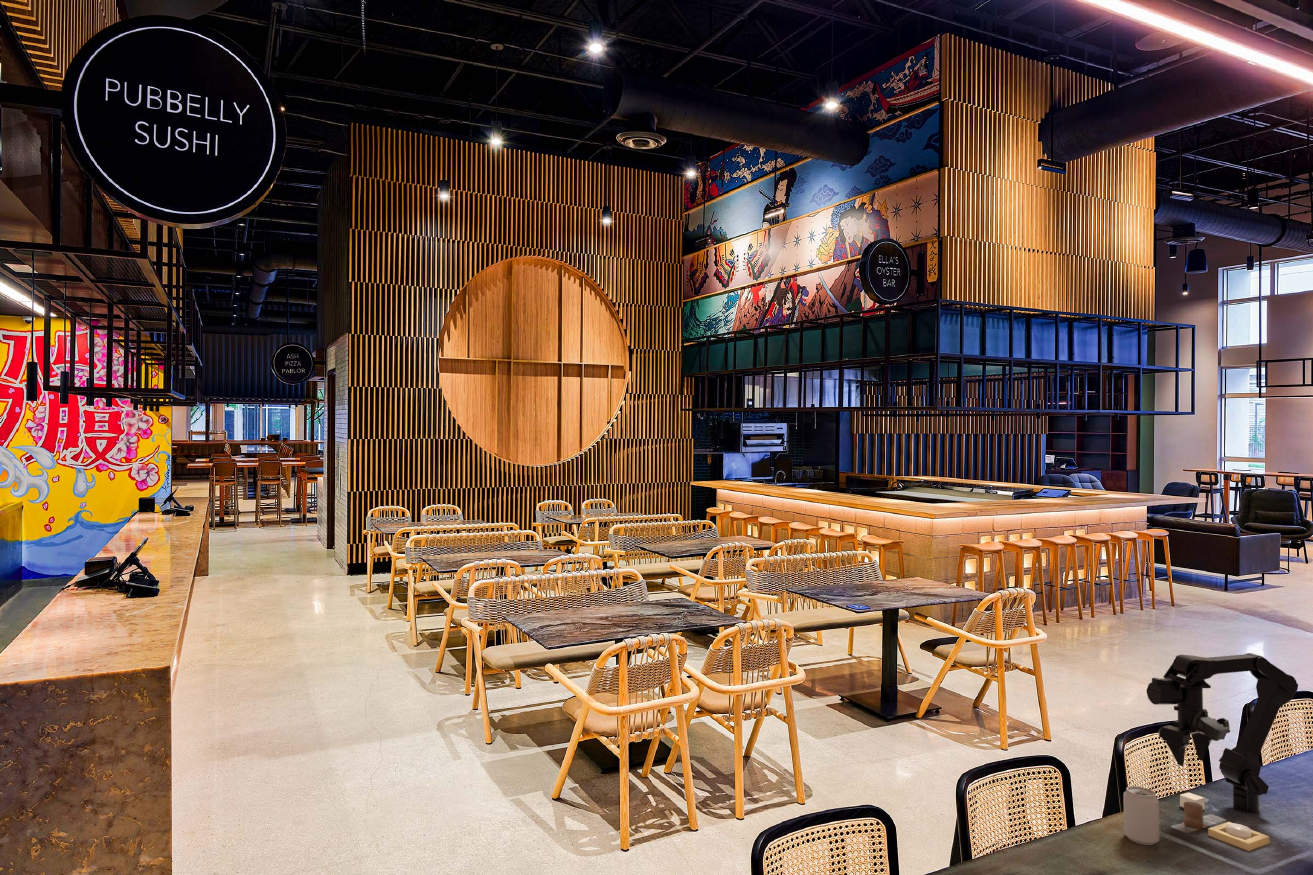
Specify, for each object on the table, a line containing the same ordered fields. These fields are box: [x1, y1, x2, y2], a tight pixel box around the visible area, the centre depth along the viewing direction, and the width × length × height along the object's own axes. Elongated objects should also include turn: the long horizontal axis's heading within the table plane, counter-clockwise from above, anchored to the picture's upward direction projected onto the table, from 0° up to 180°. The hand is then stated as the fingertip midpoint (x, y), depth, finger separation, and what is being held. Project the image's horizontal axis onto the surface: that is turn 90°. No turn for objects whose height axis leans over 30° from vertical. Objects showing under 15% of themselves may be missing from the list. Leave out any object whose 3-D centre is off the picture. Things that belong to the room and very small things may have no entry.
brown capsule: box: [1183, 802, 1204, 829], centre depth 204 cm, size 4×4×5 cm
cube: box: [1179, 791, 1205, 811], centre depth 215 cm, size 4×4×4 cm
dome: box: [1226, 822, 1252, 840], centre depth 196 cm, size 5×5×3 cm
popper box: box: [1207, 821, 1270, 852], centre depth 196 cm, size 9×9×2 cm
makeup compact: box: [1170, 813, 1227, 834], centre depth 205 cm, size 18×7×1 cm, turn 116°
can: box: [1122, 785, 1160, 846], centre depth 198 cm, size 8×8×12 cm
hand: (1191, 762), depth 214 cm, fingers open, 9 cm apart
